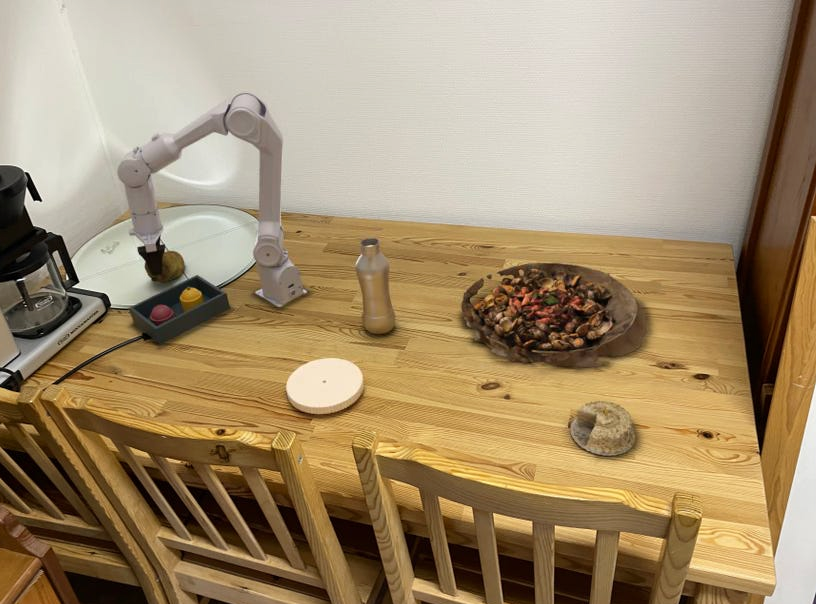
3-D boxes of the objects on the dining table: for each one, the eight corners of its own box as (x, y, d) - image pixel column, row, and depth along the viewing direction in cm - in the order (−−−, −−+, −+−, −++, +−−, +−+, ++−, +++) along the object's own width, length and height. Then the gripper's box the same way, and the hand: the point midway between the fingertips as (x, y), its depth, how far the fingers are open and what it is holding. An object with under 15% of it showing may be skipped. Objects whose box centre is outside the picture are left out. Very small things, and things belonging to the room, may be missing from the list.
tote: (230, 310, 160) (226, 292, 157) (161, 347, 151) (155, 329, 148) (201, 291, 168) (197, 274, 165) (134, 325, 159) (128, 307, 157)
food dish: (440, 357, 139) (436, 323, 134) (488, 272, 163) (486, 241, 159) (635, 386, 124) (638, 349, 120) (656, 288, 148) (659, 254, 144)
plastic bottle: (394, 338, 144) (384, 250, 133) (360, 338, 145) (348, 250, 134) (398, 320, 149) (390, 233, 138) (366, 319, 150) (355, 234, 139)
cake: (616, 410, 121) (622, 385, 118) (646, 452, 112) (653, 426, 109) (559, 418, 120) (564, 393, 117) (585, 461, 111) (590, 435, 108)
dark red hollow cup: (180, 324, 156) (175, 305, 153) (160, 335, 154) (154, 315, 151) (169, 316, 159) (163, 297, 157) (149, 326, 157) (143, 307, 154)
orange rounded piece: (209, 308, 160) (203, 286, 157) (190, 317, 158) (184, 296, 155) (198, 300, 163) (192, 279, 160) (179, 310, 161) (173, 288, 158)
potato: (200, 267, 178) (192, 238, 173) (167, 294, 169) (158, 265, 164) (173, 262, 181) (165, 234, 177) (140, 289, 172) (130, 260, 168)
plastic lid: (340, 426, 124) (338, 415, 123) (273, 406, 131) (271, 396, 129) (377, 378, 134) (376, 367, 133) (313, 361, 141) (311, 351, 139)
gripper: (123, 198, 156) (136, 253, 164) (125, 227, 144) (138, 285, 152) (156, 193, 158) (168, 248, 165) (161, 221, 146) (172, 279, 153)
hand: (156, 265), depth 159 cm, fingers open, 7 cm apart
